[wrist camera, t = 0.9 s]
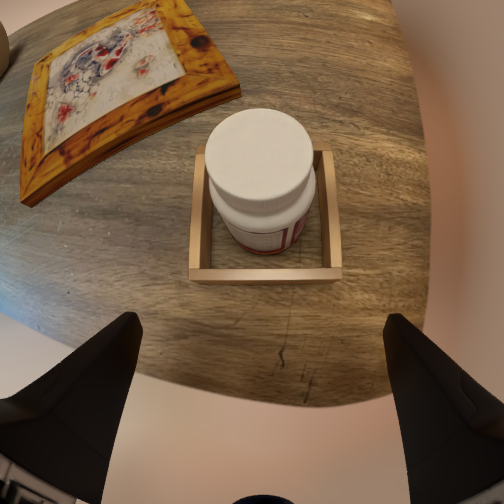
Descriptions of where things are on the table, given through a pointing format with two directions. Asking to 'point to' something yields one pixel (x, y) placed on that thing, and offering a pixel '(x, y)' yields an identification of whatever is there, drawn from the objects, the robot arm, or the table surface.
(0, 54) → the flower pot
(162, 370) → the table surface
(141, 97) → the picture frame
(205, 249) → the square wooden frame
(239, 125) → the pill bottle
